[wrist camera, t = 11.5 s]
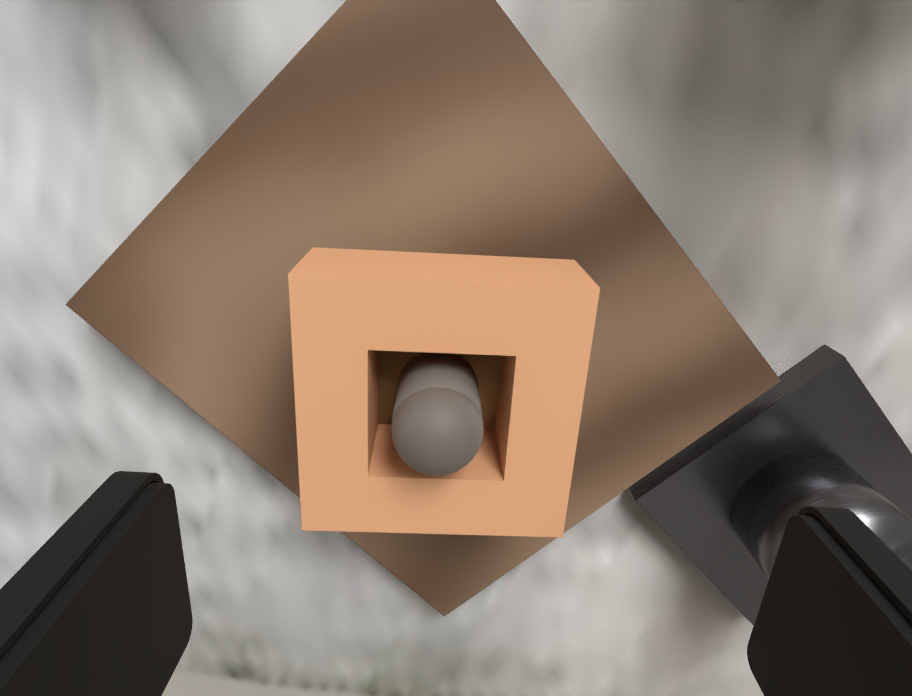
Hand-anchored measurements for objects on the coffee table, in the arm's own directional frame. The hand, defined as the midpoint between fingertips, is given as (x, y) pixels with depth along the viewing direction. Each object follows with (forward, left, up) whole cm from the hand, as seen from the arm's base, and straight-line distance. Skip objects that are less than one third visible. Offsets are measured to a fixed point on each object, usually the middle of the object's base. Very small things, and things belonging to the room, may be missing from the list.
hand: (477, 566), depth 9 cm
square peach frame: (0, 0, -7) cm, 7 cm away
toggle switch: (+1, 0, -11) cm, 11 cm away
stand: (-12, -5, -11) cm, 17 cm away
